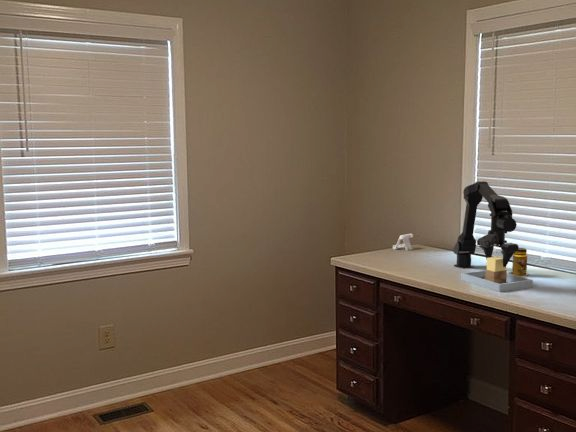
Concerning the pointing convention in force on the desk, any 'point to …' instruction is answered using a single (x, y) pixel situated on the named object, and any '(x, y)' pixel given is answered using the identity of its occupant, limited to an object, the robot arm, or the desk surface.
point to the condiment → (519, 263)
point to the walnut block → (496, 276)
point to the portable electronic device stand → (406, 242)
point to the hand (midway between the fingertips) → (496, 264)
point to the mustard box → (495, 264)
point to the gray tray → (514, 283)
